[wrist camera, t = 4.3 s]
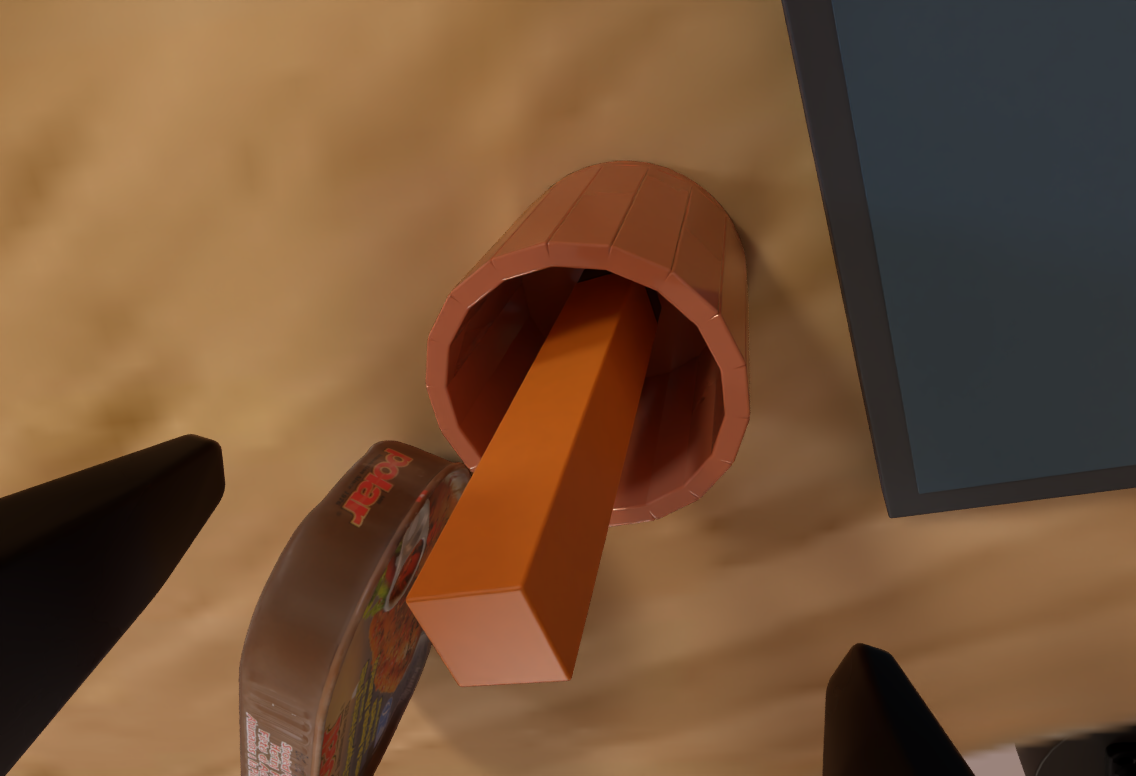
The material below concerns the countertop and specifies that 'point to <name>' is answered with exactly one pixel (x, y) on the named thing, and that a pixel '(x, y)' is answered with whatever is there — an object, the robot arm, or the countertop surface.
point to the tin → (344, 619)
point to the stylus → (542, 497)
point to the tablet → (981, 237)
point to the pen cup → (682, 341)
